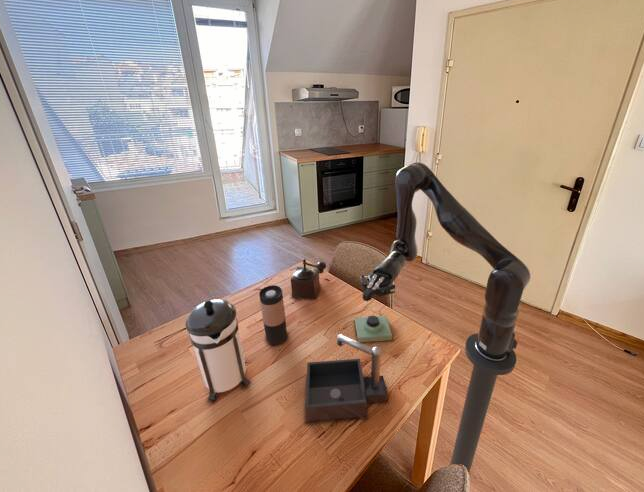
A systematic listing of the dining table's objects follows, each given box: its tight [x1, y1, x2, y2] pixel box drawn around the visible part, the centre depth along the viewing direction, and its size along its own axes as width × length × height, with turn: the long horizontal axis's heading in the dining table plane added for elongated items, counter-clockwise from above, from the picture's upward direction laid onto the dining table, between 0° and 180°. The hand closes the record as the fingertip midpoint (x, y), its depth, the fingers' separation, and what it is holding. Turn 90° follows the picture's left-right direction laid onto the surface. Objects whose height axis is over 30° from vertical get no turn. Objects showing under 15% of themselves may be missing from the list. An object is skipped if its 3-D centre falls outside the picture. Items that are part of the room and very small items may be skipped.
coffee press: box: [185, 298, 250, 402], centre depth 85 cm, size 17×16×30 cm
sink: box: [305, 358, 388, 423], centre depth 84 cm, size 22×14×6 cm, turn 94°
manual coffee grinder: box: [290, 258, 327, 300], centre depth 126 cm, size 16×11×18 cm
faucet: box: [336, 333, 382, 388], centre depth 84 cm, size 14×3×14 cm, turn 59°
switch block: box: [354, 315, 393, 343], centre depth 107 cm, size 12×10×4 cm
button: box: [367, 315, 379, 327], centre depth 106 cm, size 4×4×2 cm
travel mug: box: [258, 285, 288, 346], centre depth 102 cm, size 8×8×20 cm
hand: (365, 298), depth 89 cm, fingers closed
